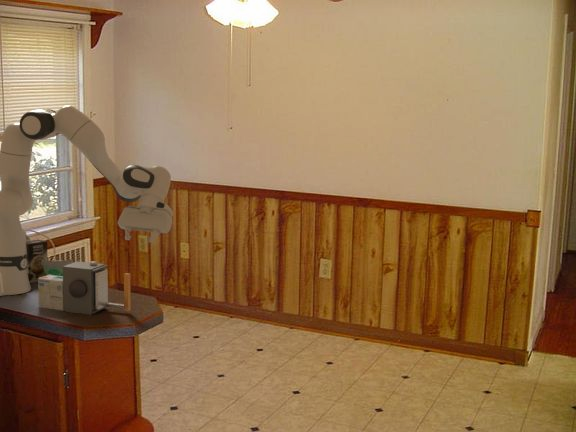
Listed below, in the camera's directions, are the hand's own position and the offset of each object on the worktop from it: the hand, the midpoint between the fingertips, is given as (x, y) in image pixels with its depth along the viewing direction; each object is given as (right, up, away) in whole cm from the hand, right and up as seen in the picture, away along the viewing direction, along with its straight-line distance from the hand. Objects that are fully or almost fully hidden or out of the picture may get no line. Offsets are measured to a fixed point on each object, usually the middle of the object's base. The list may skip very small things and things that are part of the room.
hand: (138, 240), depth 270 cm
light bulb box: (-28, -24, -4) cm, 37 cm away
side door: (-7, -24, -10) cm, 27 cm away
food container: (-38, -19, +27) cm, 50 cm away
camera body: (-18, -24, -7) cm, 31 cm away
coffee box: (-49, -17, +33) cm, 61 cm away
